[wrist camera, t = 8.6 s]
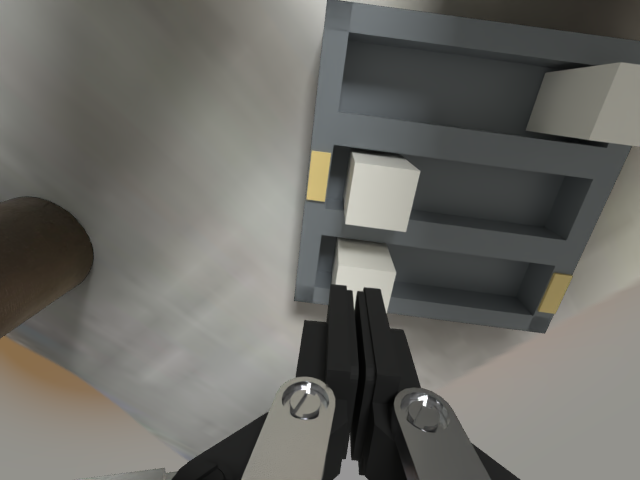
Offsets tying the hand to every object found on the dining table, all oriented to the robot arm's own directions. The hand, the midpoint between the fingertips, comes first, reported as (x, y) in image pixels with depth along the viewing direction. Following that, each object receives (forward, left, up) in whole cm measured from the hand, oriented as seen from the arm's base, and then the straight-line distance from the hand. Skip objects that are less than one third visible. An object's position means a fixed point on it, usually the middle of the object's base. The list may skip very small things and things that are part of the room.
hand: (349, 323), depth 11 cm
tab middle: (-2, +2, -18) cm, 18 cm away
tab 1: (+5, +2, -18) cm, 19 cm away
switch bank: (-2, +8, -19) cm, 21 cm away
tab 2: (-9, +15, -18) cm, 25 cm away
